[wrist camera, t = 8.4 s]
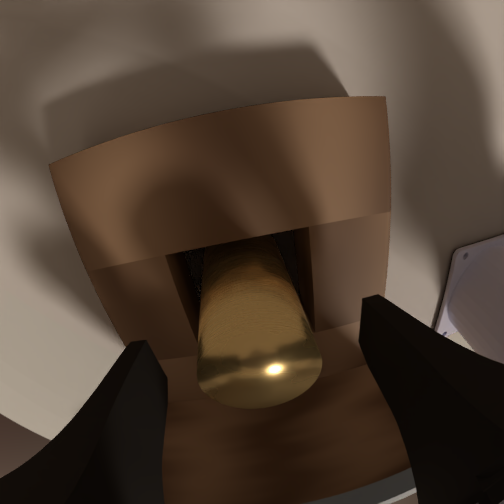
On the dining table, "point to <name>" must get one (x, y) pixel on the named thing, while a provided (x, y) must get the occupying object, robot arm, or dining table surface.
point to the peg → (252, 328)
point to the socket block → (309, 276)
